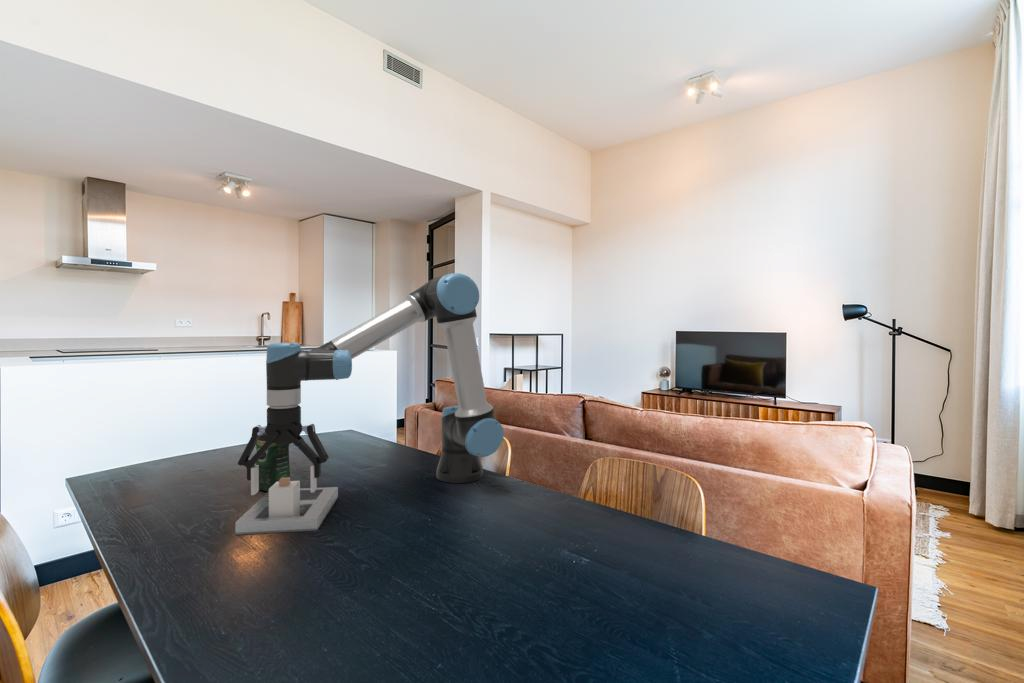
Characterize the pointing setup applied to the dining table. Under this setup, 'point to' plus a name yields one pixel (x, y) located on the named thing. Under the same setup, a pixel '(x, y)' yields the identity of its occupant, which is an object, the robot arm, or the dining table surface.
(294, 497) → the white rectangular block
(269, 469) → the coffee jar
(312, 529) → the socket plate
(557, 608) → the dining table surface
